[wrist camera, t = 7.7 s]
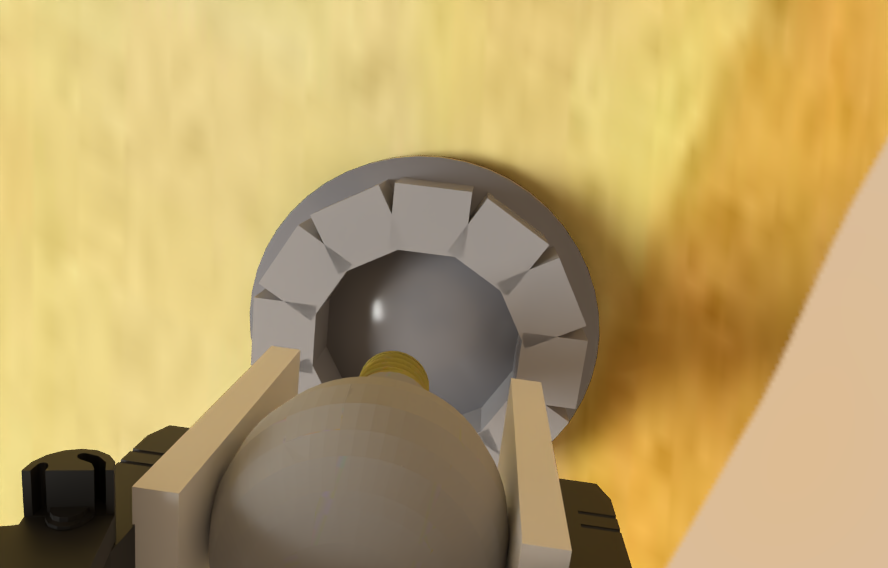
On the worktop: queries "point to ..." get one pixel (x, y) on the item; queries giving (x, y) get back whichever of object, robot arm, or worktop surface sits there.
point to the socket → (432, 287)
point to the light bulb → (362, 481)
